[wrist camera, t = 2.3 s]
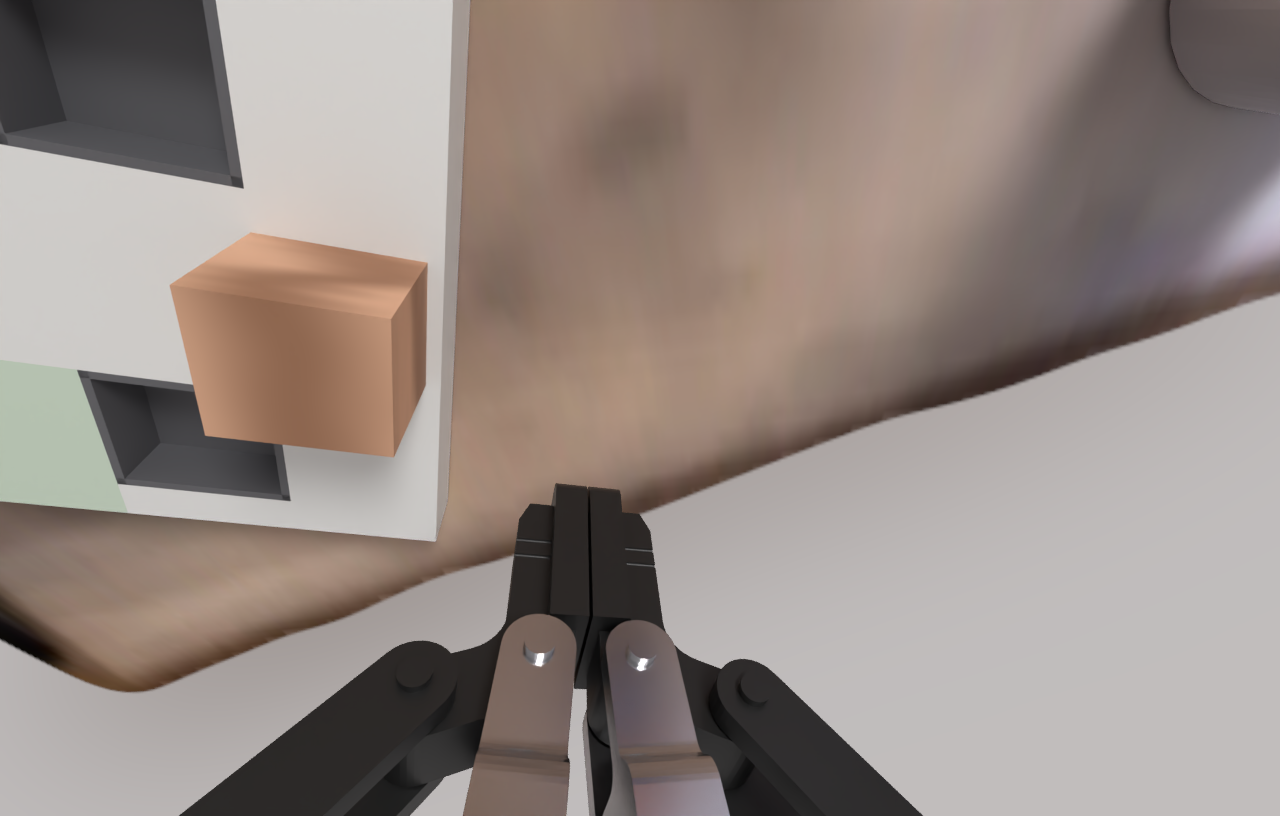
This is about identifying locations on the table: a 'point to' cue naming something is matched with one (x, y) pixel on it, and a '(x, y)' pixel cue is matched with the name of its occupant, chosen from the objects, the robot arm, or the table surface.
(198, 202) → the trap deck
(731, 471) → the table surface
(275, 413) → the block
